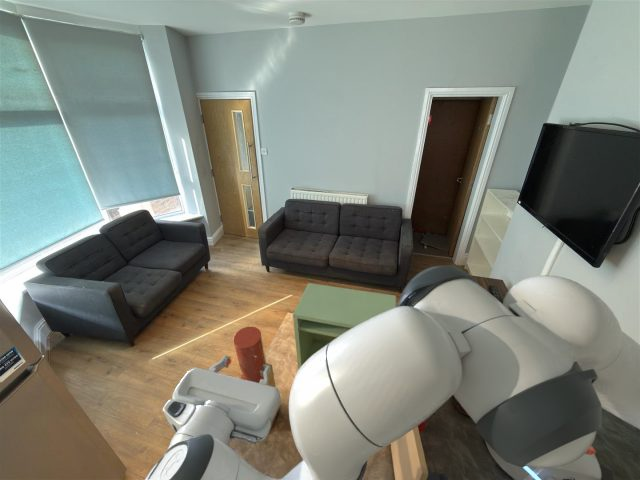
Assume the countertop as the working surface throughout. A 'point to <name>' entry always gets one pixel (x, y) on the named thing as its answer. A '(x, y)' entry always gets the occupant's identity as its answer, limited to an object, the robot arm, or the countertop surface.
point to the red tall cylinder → (250, 353)
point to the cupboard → (332, 315)
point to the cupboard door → (411, 459)
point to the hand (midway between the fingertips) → (247, 362)
